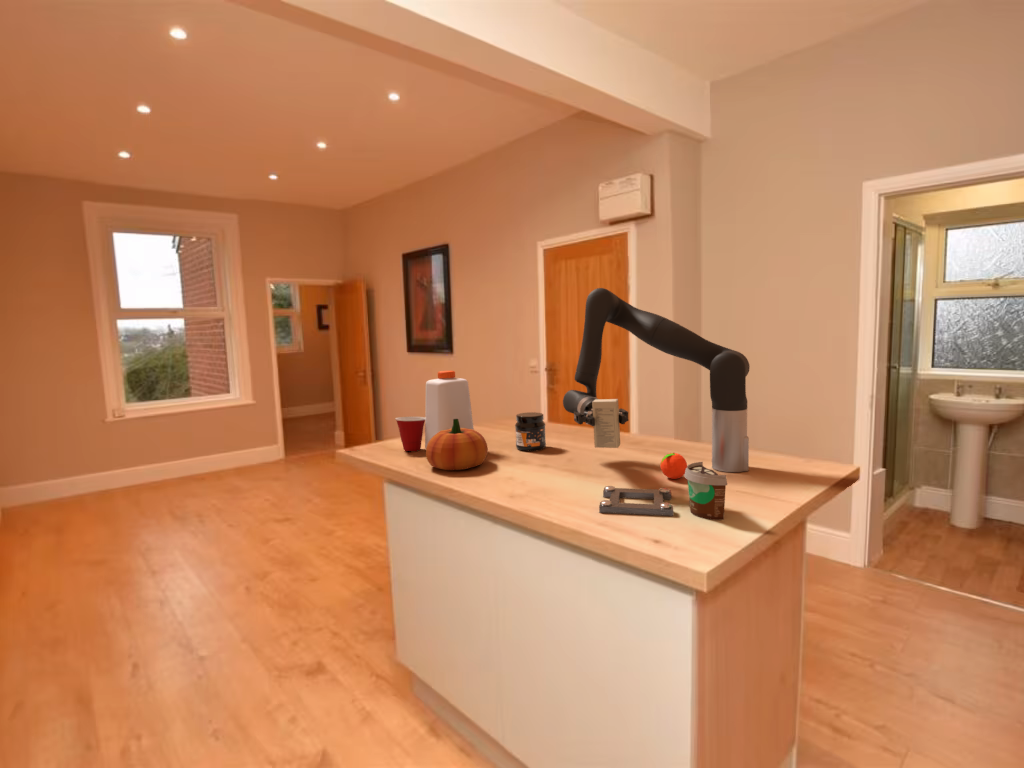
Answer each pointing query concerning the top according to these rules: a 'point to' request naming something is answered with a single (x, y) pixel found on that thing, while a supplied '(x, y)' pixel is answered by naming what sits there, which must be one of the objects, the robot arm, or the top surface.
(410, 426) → the plastic cup
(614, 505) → the grey rectangular frame
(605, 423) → the skincare box
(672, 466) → the clementine
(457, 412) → the plastic bottle
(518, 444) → the supplement container
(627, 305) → the robot arm
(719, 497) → the food container
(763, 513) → the top surface
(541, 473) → the top surface
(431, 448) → the pumpkin
